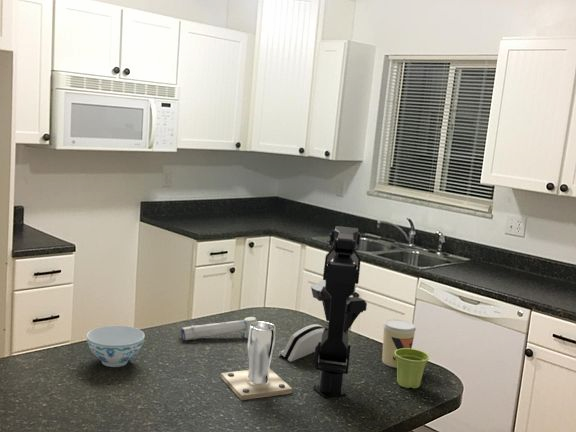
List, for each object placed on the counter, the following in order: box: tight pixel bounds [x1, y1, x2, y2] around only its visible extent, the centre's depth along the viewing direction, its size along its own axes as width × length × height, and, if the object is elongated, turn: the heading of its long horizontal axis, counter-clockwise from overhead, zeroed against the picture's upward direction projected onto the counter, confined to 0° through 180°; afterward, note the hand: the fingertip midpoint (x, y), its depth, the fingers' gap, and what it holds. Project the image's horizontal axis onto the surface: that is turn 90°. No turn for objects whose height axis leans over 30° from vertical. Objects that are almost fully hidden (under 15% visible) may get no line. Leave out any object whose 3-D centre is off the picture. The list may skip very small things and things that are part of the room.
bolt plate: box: [220, 367, 293, 401], centre depth 165 cm, size 14×14×2 cm
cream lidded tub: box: [381, 319, 416, 369], centre depth 189 cm, size 9×9×12 cm
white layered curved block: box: [277, 323, 325, 362], centre depth 190 cm, size 17×5×10 cm, turn 143°
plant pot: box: [394, 348, 430, 389], centre depth 174 cm, size 9×9×9 cm
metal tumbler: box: [246, 321, 276, 386], centre depth 164 cm, size 7×7×15 cm
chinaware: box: [86, 325, 146, 368], centre depth 171 cm, size 15×15×8 cm
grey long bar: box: [179, 316, 258, 341], centre depth 198 cm, size 5×7×25 cm
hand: (336, 326), depth 178 cm, fingers open, 9 cm apart
